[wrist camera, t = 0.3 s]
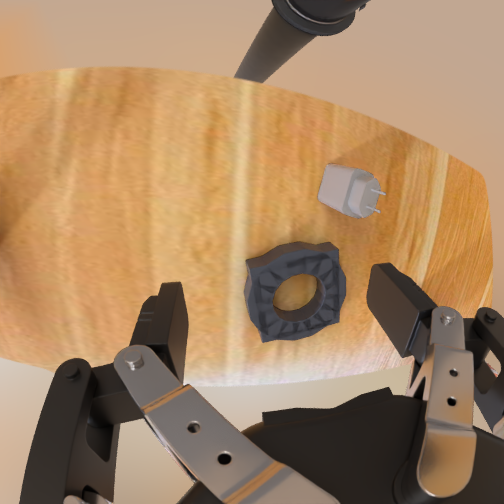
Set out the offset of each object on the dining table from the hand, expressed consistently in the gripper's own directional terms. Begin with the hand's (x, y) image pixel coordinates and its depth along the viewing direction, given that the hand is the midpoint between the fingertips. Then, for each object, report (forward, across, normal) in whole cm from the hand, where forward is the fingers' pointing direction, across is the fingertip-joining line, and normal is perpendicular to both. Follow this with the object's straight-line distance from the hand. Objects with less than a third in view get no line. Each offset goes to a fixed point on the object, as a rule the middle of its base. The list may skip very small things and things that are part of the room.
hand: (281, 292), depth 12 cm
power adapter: (+26, -12, +2) cm, 29 cm away
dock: (+25, -7, +16) cm, 30 cm away
